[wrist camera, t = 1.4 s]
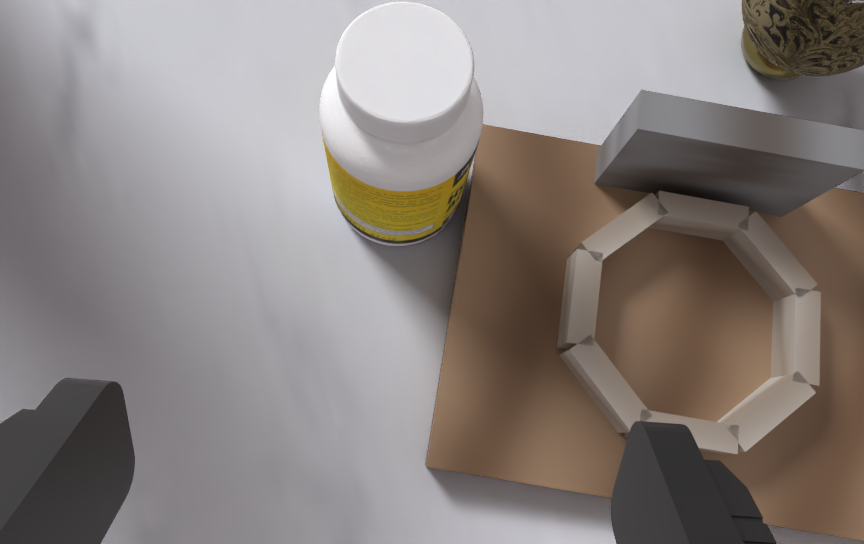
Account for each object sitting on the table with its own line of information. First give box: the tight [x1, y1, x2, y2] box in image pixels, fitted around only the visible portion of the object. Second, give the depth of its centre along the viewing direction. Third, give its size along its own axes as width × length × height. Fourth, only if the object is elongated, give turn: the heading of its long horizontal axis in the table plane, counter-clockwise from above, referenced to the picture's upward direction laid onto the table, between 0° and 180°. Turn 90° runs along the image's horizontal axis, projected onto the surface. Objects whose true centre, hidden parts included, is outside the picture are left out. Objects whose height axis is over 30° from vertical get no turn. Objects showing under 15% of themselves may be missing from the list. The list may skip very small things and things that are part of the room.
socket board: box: [425, 90, 864, 541], centre depth 24 cm, size 18×14×6 cm
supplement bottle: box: [320, 2, 483, 246], centre depth 23 cm, size 5×5×10 cm
